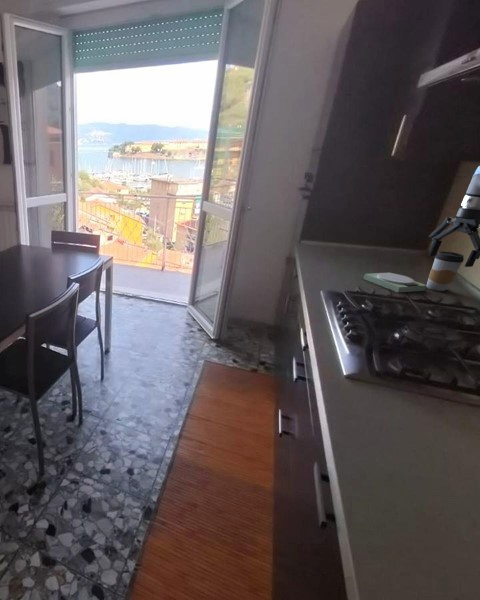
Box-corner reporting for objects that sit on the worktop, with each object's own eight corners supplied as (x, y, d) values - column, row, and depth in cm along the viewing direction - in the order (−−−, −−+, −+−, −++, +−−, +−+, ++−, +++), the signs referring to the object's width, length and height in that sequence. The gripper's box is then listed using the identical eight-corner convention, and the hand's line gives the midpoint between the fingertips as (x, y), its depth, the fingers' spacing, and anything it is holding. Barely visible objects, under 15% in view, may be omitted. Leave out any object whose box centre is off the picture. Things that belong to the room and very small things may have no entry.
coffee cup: (446, 287, 150) (461, 252, 144) (452, 293, 144) (469, 258, 137) (420, 283, 154) (434, 250, 148) (425, 289, 147) (440, 255, 141)
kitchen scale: (424, 290, 147) (427, 283, 145) (397, 292, 145) (400, 285, 144) (388, 277, 161) (391, 270, 160) (363, 278, 159) (365, 272, 158)
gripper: (431, 202, 146) (411, 252, 154) (505, 214, 123) (477, 271, 132) (446, 202, 147) (425, 251, 156) (523, 213, 124) (493, 270, 133)
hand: (449, 261), depth 144 cm, fingers open, 13 cm apart
